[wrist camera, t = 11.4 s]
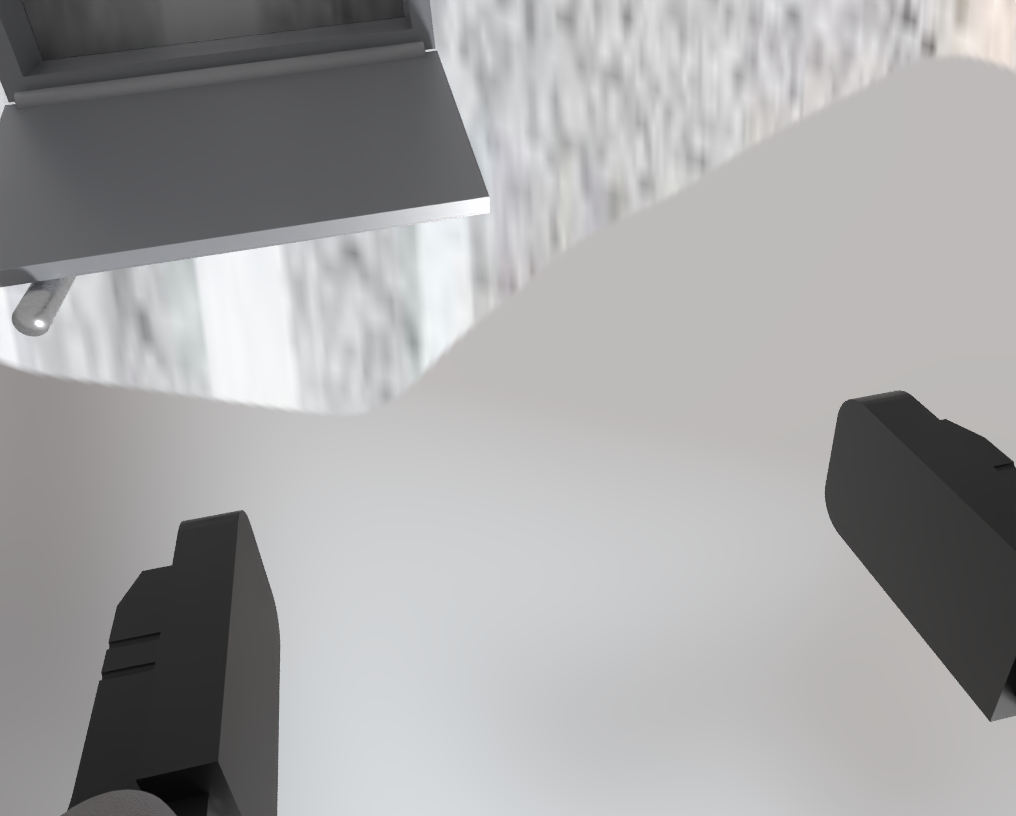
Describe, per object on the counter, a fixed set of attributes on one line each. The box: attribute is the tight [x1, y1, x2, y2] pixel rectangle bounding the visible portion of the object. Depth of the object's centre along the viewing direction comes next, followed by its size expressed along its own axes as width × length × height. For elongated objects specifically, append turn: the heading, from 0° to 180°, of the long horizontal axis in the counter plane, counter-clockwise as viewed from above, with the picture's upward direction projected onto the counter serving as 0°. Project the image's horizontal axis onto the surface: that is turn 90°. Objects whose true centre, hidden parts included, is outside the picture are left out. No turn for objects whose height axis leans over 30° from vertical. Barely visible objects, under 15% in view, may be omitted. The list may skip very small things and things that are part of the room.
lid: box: [0, 41, 490, 287], centre depth 29 cm, size 16×10×1 cm
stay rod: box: [12, 276, 76, 336], centre depth 31 cm, size 3×3×14 cm
